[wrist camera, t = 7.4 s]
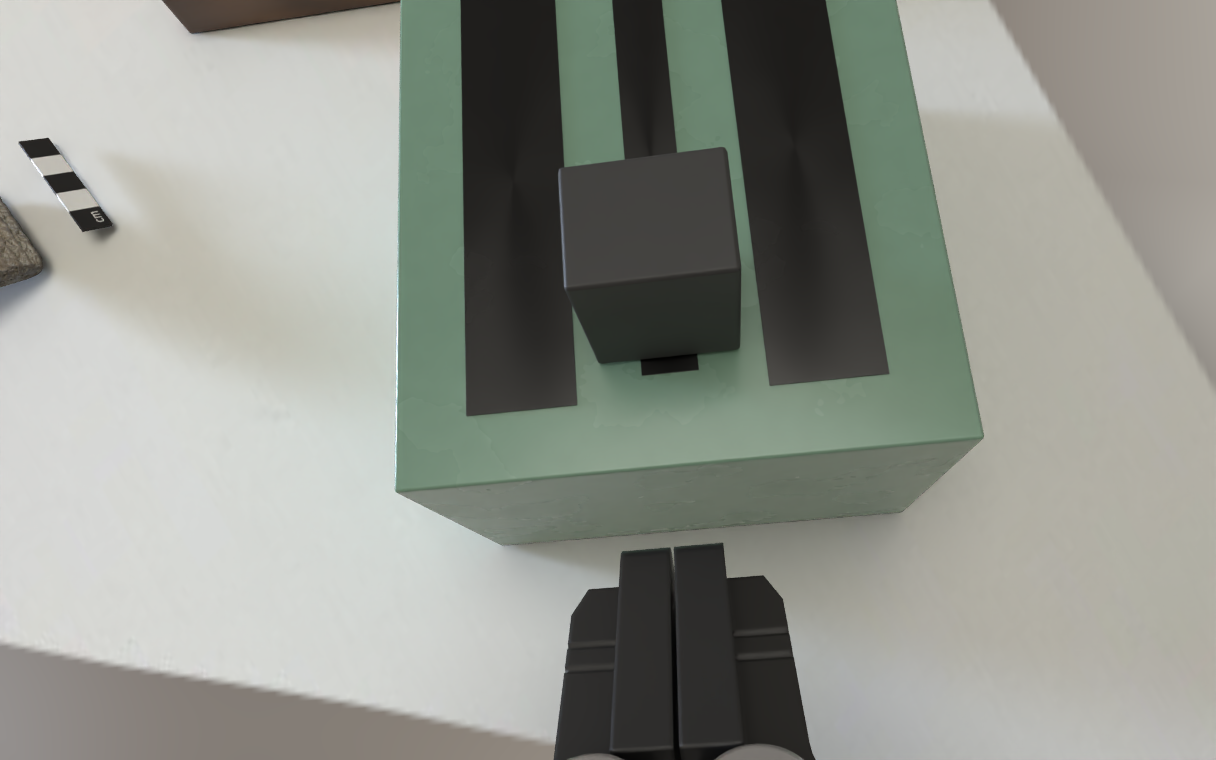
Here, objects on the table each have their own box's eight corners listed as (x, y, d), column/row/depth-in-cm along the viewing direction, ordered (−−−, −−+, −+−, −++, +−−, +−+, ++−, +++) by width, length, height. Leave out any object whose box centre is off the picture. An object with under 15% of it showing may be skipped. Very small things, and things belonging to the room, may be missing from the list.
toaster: (834, 102, 30) (873, -119, 22) (903, 512, 26) (986, 438, 17) (490, 148, 31) (399, -43, 23) (500, 545, 27) (393, 492, 19)
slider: (728, 246, 19) (726, 144, 15) (740, 350, 18) (742, 269, 15) (591, 262, 19) (556, 166, 16) (598, 365, 19) (563, 290, 15)
